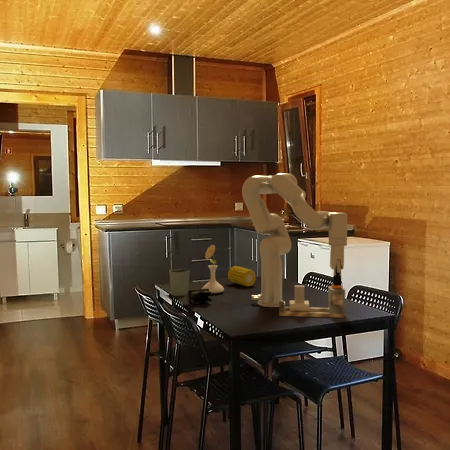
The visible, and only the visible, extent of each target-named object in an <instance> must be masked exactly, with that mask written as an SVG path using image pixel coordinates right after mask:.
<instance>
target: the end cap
mask: <svg viewBox="0 0 450 450" xmlns="http://www.w3.org/2000/svg"><path fill="white" fill-rule="evenodd" d="M212 295H213V293H211V292H210V291H209V289H202V288H200V289H188V292H187V295H186V299H187V303H188V304H189V305H190V306H192V307H202V306H211V305H212V303H211V302H213V301H212V299H213V298H212V297H210V296H212Z"/></svg>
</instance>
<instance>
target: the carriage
mask: <svg viewBox="0 0 450 450" xmlns="http://www.w3.org/2000/svg"><path fill="white" fill-rule="evenodd" d="M289 307H290V310H292V311H309V307H310V302H309V300H305V285H298V284H297V285H296V284H295V285H294V300H293V299H292V300H289Z"/></svg>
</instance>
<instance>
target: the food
mask: <svg viewBox="0 0 450 450" xmlns="http://www.w3.org/2000/svg"><path fill="white" fill-rule="evenodd" d="M227 272H228V273H227V276H228V277H227V278H228V280H229V281H230V282H231V283H234V284H236V285H241V286H243V287H246V288H247V287H252V286H253V285H254V284H255V282H256V278H257V277H256V273H255V271H253V270H252V269H250V268H246V267H242V266H238V265H233V266H231V267H230V268H229V270H228V271H227Z"/></svg>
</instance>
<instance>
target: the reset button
mask: <svg viewBox="0 0 450 450" xmlns="http://www.w3.org/2000/svg"><path fill="white" fill-rule="evenodd" d="M331 286H332V288H334V289H341V287H342V286H343V285H342V284H341V286H340V285H333V283H332V284H331Z"/></svg>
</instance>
